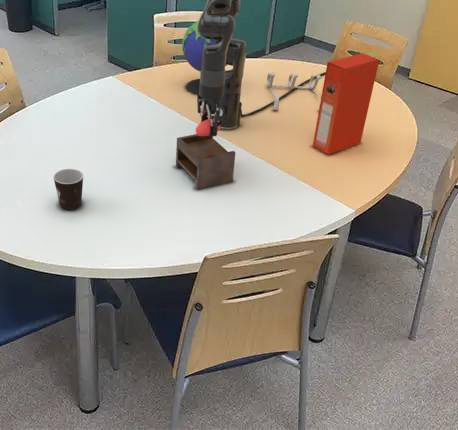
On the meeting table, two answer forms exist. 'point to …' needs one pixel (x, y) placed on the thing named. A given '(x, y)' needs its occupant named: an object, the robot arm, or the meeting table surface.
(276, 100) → the over door rack
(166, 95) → the meeting table surface
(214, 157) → the rack
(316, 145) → the file binder
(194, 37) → the globe
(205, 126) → the red rounded oblong piece
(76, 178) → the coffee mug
